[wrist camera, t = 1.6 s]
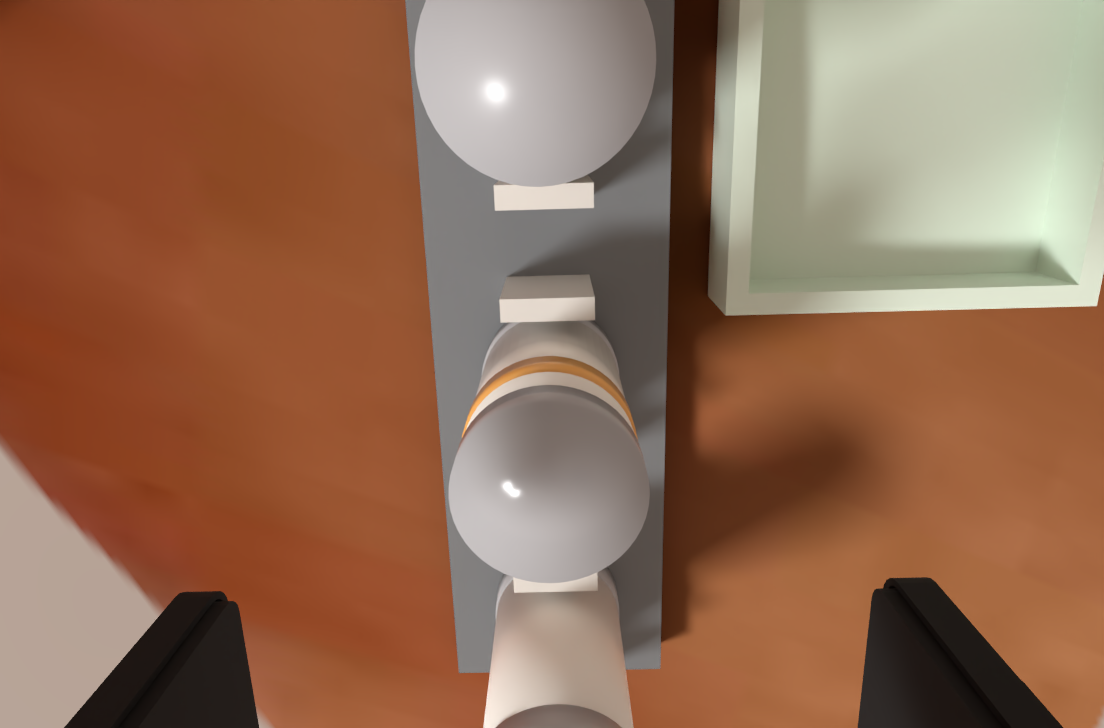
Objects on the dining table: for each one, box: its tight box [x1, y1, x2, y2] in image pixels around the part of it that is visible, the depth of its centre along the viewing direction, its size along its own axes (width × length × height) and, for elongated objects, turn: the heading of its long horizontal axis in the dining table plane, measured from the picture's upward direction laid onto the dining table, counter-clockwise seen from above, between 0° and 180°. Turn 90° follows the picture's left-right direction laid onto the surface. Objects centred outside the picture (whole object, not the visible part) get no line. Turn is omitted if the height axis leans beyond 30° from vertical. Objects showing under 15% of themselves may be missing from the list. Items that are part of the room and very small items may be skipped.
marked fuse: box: [449, 320, 650, 583], centre depth 18 cm, size 4×4×8 cm
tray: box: [708, 0, 1104, 316], centre depth 20 cm, size 10×10×2 cm
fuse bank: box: [405, 0, 674, 728], centre depth 19 cm, size 22×7×9 cm, turn 2°
